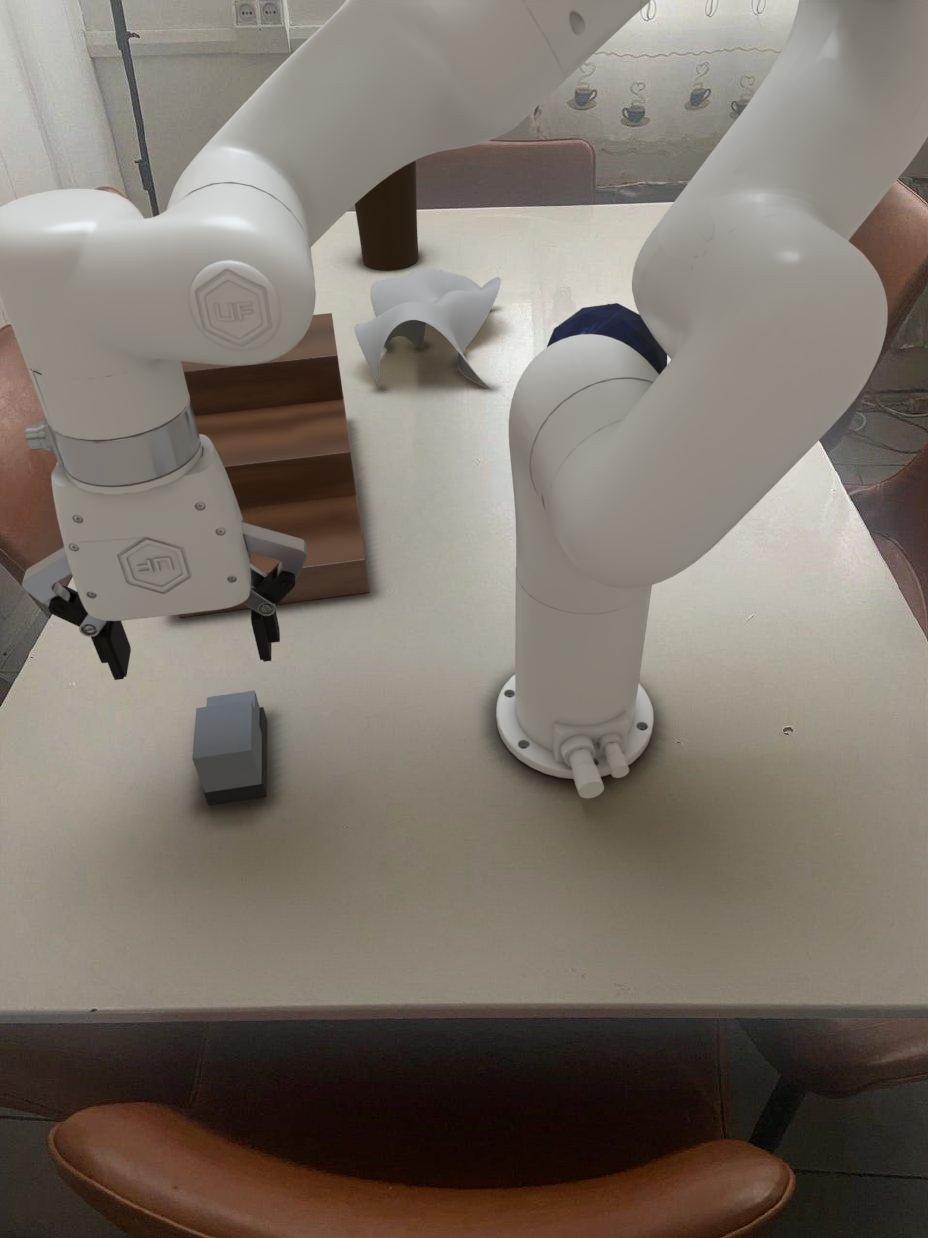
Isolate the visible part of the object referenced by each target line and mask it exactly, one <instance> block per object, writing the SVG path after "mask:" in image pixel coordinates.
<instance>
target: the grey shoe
mask: <svg viewBox="0 0 928 1238" xmlns="http://www.w3.org/2000/svg"><path fill="white" fill-rule="evenodd" d="M267 721H268V719H267V715H266V712H265V708H264V706H260V704H259V700H258V697H257V693H256V690H248V691H242V692H233V693H228V694H227V693H226V694H220V695H213V696H207V697H206V706H202V707H201V706H200V707H196V709H195V721H194V732H193V743H192V757H191V758H192V762H193V765H194V767H195V770H196V773H197V775H198V777H199V781H200V783H201V786H202V788H203V794H204V797H205V800H206V802H207V805H209V806H210V805H218V804H223V803H229V802H230V803H231V802H237V801H243V800H249V799H250V800H251V799H256V798H264V797H267V796H268V795H267V783H268V782H267V780H268V779H267V776H268V775H267V768H268V767H267V766H268V765H267V760H268V759H267V756H268V755H267V753H268V752H267V750H268V749H267V742H268V741H267V740H268V739H267V738H268V737H267V735H268V734H267V729H268V727H267V725H268V723H267Z"/></svg>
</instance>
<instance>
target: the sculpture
mask: <svg viewBox="0 0 928 1238" xmlns="http://www.w3.org/2000/svg"><path fill="white" fill-rule="evenodd" d="M501 283H502V280H501V277H500V276H496V277H493V278H491V279H490V280H488V281H487V282H485V284H484V285H483V286H480V285H479V284H478V283H477V282H476V281H474V280H472V279H471V278H469V277H467V276H464V275H462V274H458V273H454V272H450V271H445V270H442V269H436V268H431V267H430V268H429V267H423V268H419V269H416V270H414V271H412V272H411V273H409V274H404V275H397V276H392V277H388V278H383V279H379V280H376V281H374V282H372V283H371V286H370V290H369V291H370V295H369V296H370V303H371V306H372V311H373V313H374V316H375V318H373V319H371V320H369V321H367V322H364V323H360V324H355V325H354V326H353V327H354V334H355V337H356V340H357V343H358V346H359V347H360V350H361V352H362V354H363V356H364V359H365V361H366V363H367V366H368V367H369V369H370V371H371V373H372V375H373V377H374V379H375V381H376V383H377V385H378V387H379V388H380V390H382V387H381V386H382V385H381V379H380V378H381V377H380V368H381V367H380V365H381V358H382V353H383V349H386V350H388V348H389V346H390V343H391V342H392V340H393V339H394V338H397V337H403V338H405V339H408V340H409V341H410V342H412V344H413V345H414V346H415V348H417V349H422V348H425V346H426V345H425V344H426V340H425V339H426V331H427V325H430V326H431V327H434V329H436V331H438V332H440V334H441V335H443V336H444V337H445V339H447V340H448V342H449V343H450V344H451V345H452V346H453V347H454V348H455V350H456V351H457V359H458V360H457V361H458V368H459V371H460V373H462V374H463V375H464V377H466V378H467V379H469V380H471V381H473V382H474V383H475V384H478V385H480V386H483V387H486V388H488V389H492V388H491V387H490V386H489V385H487V384H486V383H485V382H484V381H483V379H482V378H481V377H480V376H479V375H478V374H477V373H476V371H475V370H474V369H473V367H472V366H471V365H470V363H469V361H468V360H467V358H466V357H465V354H464V352H465V351H466V349H467V348H468V347H469V346H470V344H471V342H472V341H473V339H474V338H475V337H476V335H477V334H478V333H479V331H480V329H481V328H482V326H483V324H484V323H485V321H486V320H487V317H488V315H489V314H490V311H491V310H492V308H493V307H494V303H495V302H496V299H497V296H498V294H499V291H500V288H501Z"/></svg>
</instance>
